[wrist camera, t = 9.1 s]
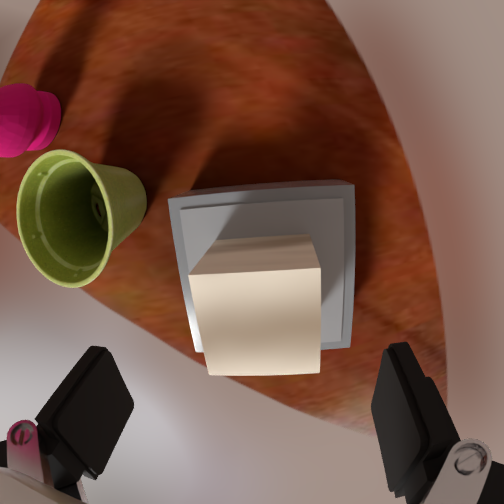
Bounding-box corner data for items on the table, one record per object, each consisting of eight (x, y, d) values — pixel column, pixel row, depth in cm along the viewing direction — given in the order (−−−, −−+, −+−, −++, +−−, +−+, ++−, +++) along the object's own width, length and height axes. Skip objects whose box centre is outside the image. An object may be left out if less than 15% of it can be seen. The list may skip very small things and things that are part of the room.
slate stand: (190, 190, 24) (166, 199, 19) (339, 179, 22) (355, 185, 17) (209, 320, 27) (195, 353, 22) (340, 315, 26) (350, 348, 21)
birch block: (215, 240, 19) (188, 275, 14) (309, 233, 19) (320, 267, 13) (227, 320, 21) (209, 374, 15) (311, 317, 20) (319, 372, 15)
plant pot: (68, 173, 24) (4, 185, 16) (145, 131, 22) (85, 124, 14) (99, 261, 27) (44, 298, 18) (180, 233, 25) (134, 269, 17)
